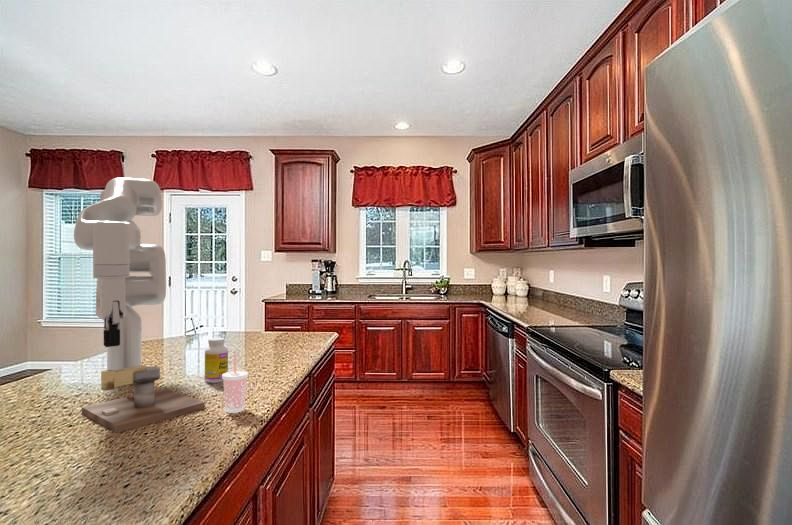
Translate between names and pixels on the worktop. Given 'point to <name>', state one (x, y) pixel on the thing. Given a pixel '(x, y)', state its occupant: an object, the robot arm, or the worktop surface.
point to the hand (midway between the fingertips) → (111, 345)
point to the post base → (141, 408)
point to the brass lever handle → (128, 376)
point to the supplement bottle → (216, 360)
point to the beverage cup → (234, 389)
